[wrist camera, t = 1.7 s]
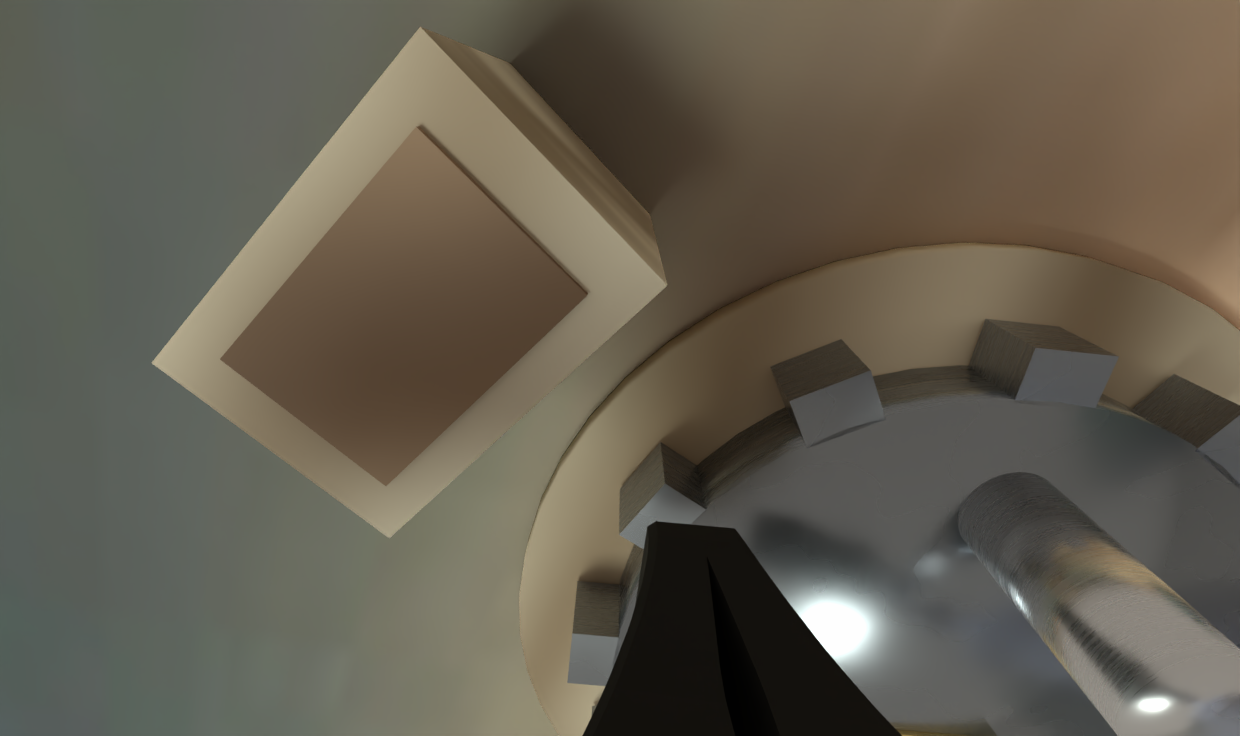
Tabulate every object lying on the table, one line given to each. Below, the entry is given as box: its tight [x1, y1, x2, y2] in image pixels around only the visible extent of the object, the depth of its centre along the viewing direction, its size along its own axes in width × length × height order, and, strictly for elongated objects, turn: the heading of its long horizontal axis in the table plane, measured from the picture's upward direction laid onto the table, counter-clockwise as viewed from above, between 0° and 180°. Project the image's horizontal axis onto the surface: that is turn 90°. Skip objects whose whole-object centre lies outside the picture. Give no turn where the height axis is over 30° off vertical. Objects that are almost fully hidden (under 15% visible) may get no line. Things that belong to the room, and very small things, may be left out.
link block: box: [152, 27, 667, 538], centre depth 9 cm, size 4×5×5 cm
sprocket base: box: [519, 242, 1240, 736], centre depth 14 cm, size 18×18×3 cm
